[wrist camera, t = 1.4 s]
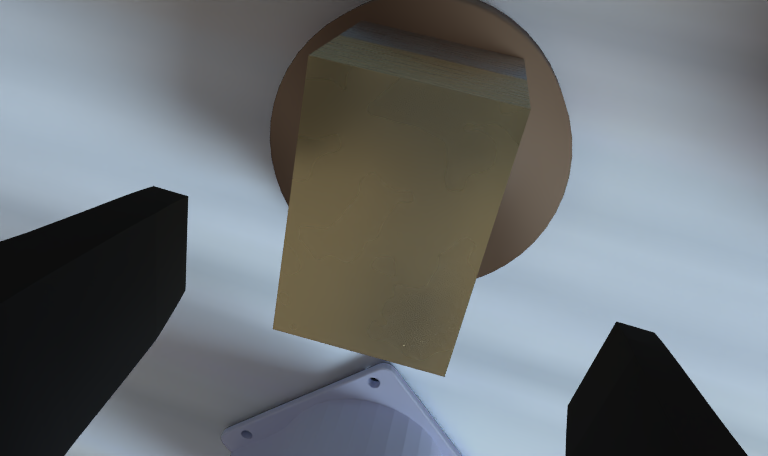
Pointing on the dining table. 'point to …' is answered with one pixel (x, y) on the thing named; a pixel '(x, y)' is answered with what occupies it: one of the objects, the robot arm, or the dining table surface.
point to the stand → (482, 30)
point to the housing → (396, 190)
